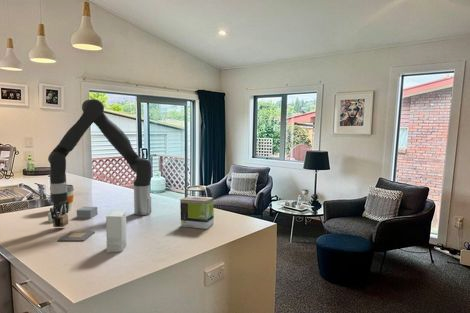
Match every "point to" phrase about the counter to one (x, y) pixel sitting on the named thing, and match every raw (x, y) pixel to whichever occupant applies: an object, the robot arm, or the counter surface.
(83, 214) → the slate block
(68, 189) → the reusable coffee cup
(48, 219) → the sage green block
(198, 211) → the tea box
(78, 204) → the counter surface
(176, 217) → the counter surface
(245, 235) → the counter surface
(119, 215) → the skincare box
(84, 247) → the counter surface
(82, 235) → the card
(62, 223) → the walnut block
